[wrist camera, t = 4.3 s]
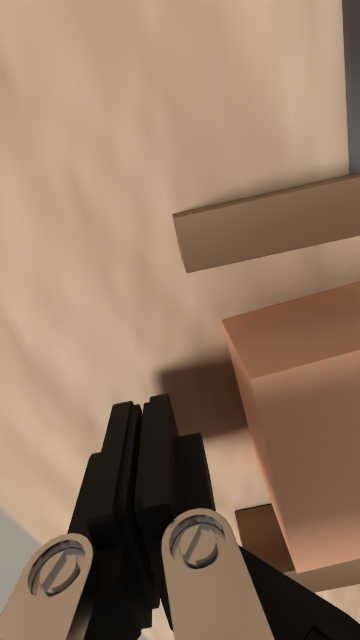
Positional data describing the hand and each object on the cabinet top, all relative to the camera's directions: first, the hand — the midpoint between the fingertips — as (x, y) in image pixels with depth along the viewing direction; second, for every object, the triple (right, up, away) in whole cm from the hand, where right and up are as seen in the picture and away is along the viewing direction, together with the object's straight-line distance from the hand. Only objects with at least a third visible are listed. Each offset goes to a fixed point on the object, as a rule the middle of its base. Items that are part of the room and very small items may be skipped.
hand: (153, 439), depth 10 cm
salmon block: (+6, +2, +1) cm, 6 cm away
